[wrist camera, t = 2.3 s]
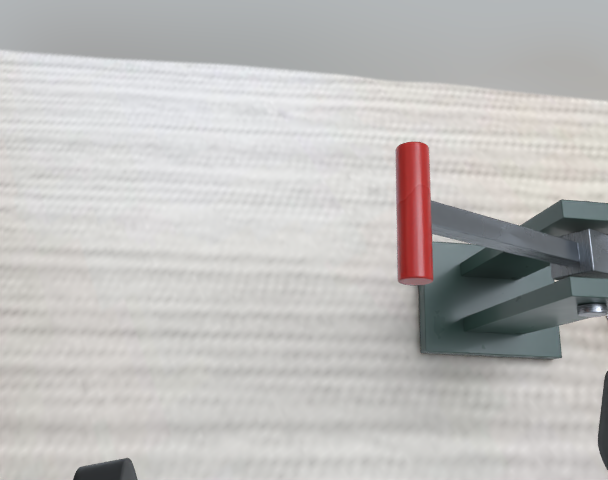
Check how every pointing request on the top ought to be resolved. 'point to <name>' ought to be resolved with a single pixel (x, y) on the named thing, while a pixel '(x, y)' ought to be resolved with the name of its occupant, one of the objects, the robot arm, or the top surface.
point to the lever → (477, 230)
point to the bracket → (509, 293)
